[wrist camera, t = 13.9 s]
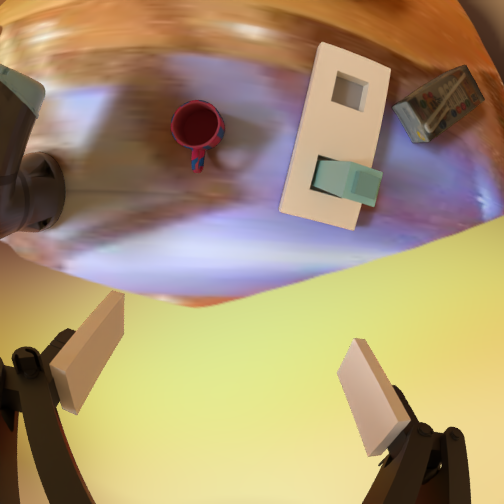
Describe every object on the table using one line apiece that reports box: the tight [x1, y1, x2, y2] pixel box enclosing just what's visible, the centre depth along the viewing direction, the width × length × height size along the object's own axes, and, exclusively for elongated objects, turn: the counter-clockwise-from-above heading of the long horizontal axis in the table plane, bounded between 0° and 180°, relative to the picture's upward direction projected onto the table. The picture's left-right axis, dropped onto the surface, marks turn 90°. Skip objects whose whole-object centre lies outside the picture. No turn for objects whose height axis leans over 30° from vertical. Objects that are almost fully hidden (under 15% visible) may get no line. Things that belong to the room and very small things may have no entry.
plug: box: [311, 160, 383, 207], centre depth 35 cm, size 4×4×16 cm
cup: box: [171, 100, 225, 173], centre depth 38 cm, size 7×10×7 cm
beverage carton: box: [392, 65, 485, 143], centre depth 36 cm, size 8×19×7 cm, turn 127°
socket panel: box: [278, 42, 391, 231], centre depth 40 cm, size 12×28×3 cm, turn 167°
